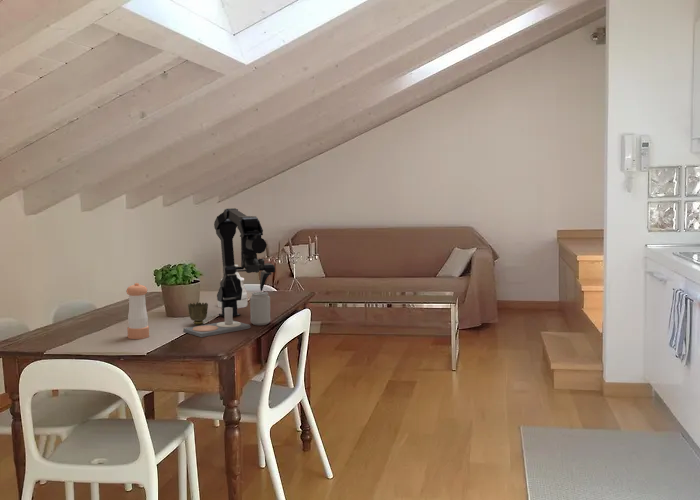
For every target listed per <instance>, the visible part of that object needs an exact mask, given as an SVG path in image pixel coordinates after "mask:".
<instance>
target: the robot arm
mask: <svg viewBox="0 0 700 500" xmlns="http://www.w3.org/2000/svg"><path fill="white" fill-rule="evenodd" d="M260 222H261V221H260V219H259V218H258V217H257V215H246V214H245V213H243V212H241V211H240V210H239V209H238V208H235V207H234V208H225V209H224V210H223V212H221V213H220V214H218V216H216V218H215V219H214V223H213V225H214V226H213V227H214V229H215V234H216V236H217V238H218V239H219V240H220V245H221V246H220V247H221V260H222V261H221V262H222V273H223V276H222V278H221V279H222V280H221V279H220V282H219V289H218V291H217V294H216V300H218V301H220V302H222V308H221V313H218V316H221V317H223V318H225V316H224V308H226V307H232V308H233V317H237V316H241V313H238V308H237V301H236V300H241V297H242V287H241V281H240V279H238V278H237V275H236V274H235V273H236V272H238V273H239V272H246V273H248V274H250V273H256V274H257V273H260V279H259V280H260V282H259V289H260V292H263V290H264V287H265V283H266V281H267V279H268V277H269V276H271V275H272V273H275V272H276V266H275V265H274V264H272V262H270V263H268V262H266V263H265V258H258V254H262V253H264V252H265V251H266V249H267V242H266V240H265V239H264V238H263V237H262V236H263V235H264V229H263V227H262V225H261V223H260ZM237 230H238V231H239V237H240V262H241V263H240V266H238V267H235V265H236V264H235V254H234V237H235V235H236V233H237ZM218 301H217V302H218Z"/></svg>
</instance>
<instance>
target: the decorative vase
mask: <svg viewBox="0 0 700 500" xmlns="http://www.w3.org/2000/svg"><path fill="white" fill-rule="evenodd" d="M187 306H188V314H189V315H188V316H189V318H190V319H191V320H192V321H193V325H194V326H201V325H204V320H206V318H207V317H208V308H209V303H207V302H205V303H204V302H202V303H201V302H198V301H197V302H196V303H195V302H193V303H192V302H190V303H188V305H187Z"/></svg>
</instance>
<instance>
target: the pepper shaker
mask: <svg viewBox="0 0 700 500" xmlns="http://www.w3.org/2000/svg"><path fill="white" fill-rule="evenodd" d="M147 293H148V288H147V286H145V285H143V284H140V283H139V282H134V284H131V285H129V286H128V287H127V289H126V294H127V295H128V305H129V307H128V315H127V322H128V327H127V329H126V330H127V338H128V339H131V340H142V339H147V338H149V337H150V326H149V324H148V321H149V318H148V317H149V316H148V312H147V311H148V310H147V306H146V304H147V303H146V294H147Z"/></svg>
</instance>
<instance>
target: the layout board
mask: <svg viewBox="0 0 700 500" xmlns="http://www.w3.org/2000/svg"><path fill="white" fill-rule="evenodd" d="M224 316H225V317H224ZM224 316H223V317H224V321H219V322H218V321H217V322H214V323H208V324H202V325H194V326H190V327H184V328H183V333H185V334H190V335H192V336H196V337H198V338H205V337H211V336H215V335H221V334H226V333H231V332H232V333H233V332H237V331H242V330H247V329H251V324H248V323H244V322H241V321H240V322H239V321H237V320H234V319H233V318H234V316H233V308H232V307H226V308H224Z"/></svg>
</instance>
